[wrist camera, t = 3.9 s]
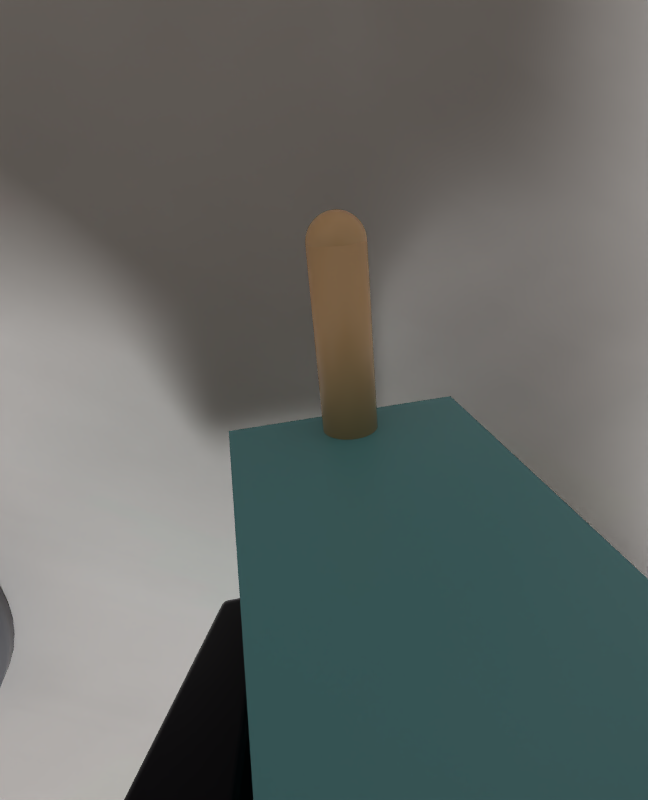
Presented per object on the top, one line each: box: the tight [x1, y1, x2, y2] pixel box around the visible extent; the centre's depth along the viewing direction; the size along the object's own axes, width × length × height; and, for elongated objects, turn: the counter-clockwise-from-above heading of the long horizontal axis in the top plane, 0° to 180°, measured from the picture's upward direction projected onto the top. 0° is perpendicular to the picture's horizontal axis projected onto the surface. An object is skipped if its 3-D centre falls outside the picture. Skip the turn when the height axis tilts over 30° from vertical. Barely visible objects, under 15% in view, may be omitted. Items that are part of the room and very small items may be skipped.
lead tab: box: [229, 209, 648, 800], centre depth 7 cm, size 4×8×7 cm, turn 5°
